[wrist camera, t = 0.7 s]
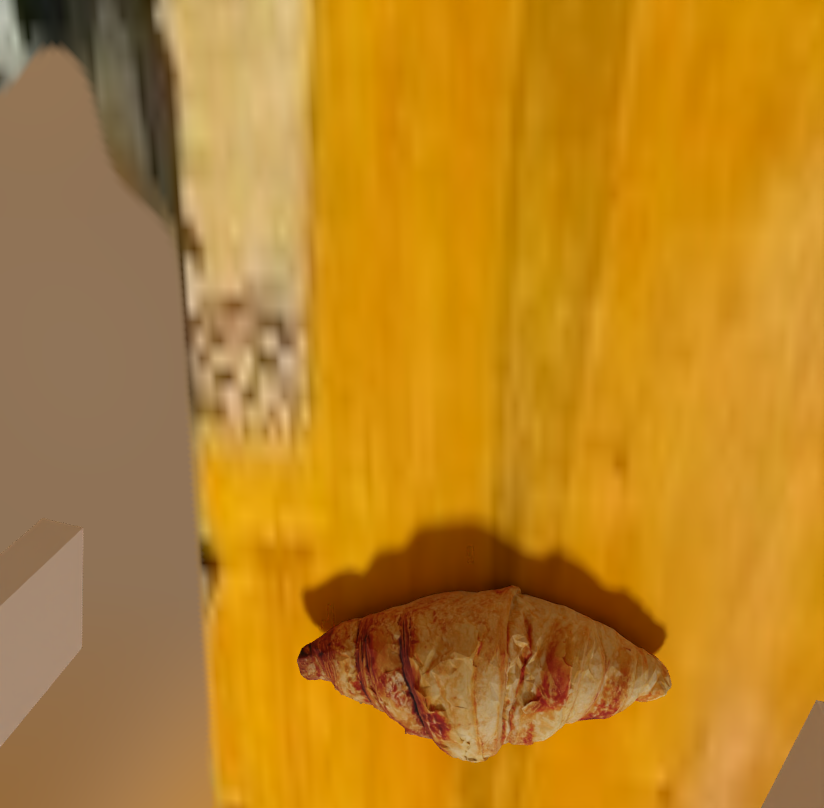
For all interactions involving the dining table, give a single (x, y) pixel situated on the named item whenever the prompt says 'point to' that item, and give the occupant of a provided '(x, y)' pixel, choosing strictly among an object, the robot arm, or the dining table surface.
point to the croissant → (484, 668)
